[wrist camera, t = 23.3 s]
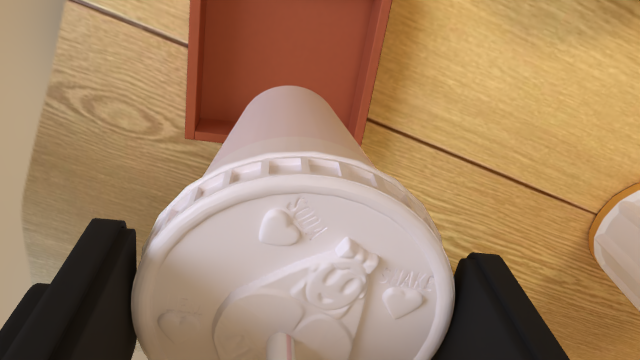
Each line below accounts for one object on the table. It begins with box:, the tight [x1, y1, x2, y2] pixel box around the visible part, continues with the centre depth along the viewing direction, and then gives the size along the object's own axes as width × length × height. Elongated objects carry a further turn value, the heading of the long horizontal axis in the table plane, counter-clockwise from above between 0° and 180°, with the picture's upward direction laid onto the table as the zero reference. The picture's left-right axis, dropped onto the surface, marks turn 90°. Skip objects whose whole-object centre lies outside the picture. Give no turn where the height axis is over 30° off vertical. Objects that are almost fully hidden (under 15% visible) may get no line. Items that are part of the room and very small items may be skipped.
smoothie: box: [131, 86, 455, 360], centre depth 12 cm, size 6×6×14 cm
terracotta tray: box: [185, 0, 392, 147], centre depth 30 cm, size 11×11×3 cm
